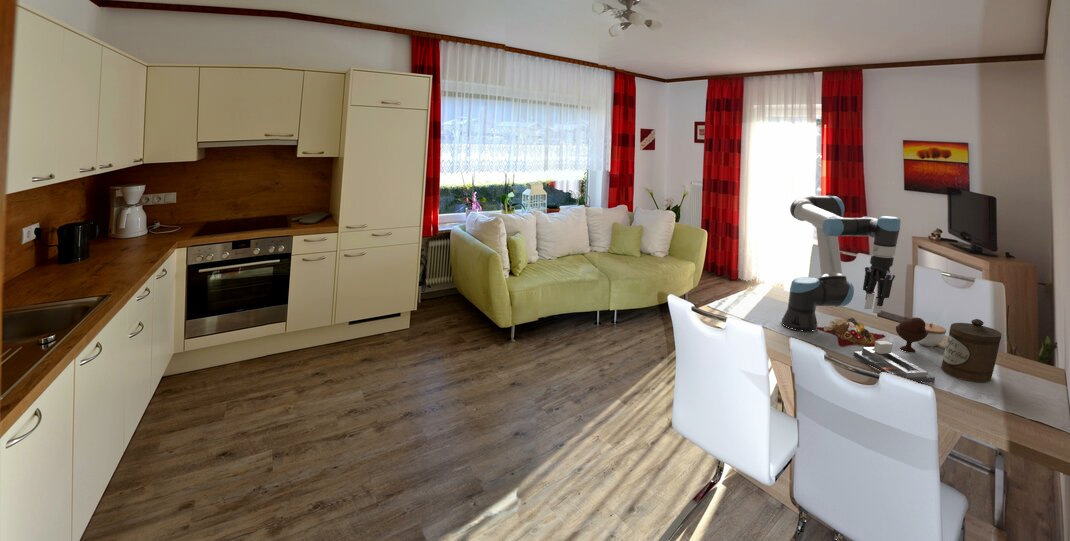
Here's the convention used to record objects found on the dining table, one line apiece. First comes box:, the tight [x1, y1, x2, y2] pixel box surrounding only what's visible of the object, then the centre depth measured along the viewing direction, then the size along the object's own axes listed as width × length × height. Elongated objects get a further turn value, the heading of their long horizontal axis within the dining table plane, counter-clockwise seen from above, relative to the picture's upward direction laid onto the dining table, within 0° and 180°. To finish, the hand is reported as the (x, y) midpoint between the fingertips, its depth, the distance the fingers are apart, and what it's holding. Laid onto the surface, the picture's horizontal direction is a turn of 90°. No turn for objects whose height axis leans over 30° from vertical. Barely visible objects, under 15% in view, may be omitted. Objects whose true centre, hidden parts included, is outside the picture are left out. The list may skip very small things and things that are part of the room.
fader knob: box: [873, 340, 893, 359], centre depth 199 cm, size 3×5×6 cm
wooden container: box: [940, 318, 1002, 383], centre depth 187 cm, size 15×15×22 cm
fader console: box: [853, 346, 936, 384], centre depth 194 cm, size 24×14×4 cm, turn 4°
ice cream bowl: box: [895, 317, 929, 354], centre depth 209 cm, size 11×11×15 cm
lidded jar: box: [918, 322, 947, 347], centre depth 216 cm, size 11×11×9 cm
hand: (872, 310), depth 204 cm, fingers open, 4 cm apart
